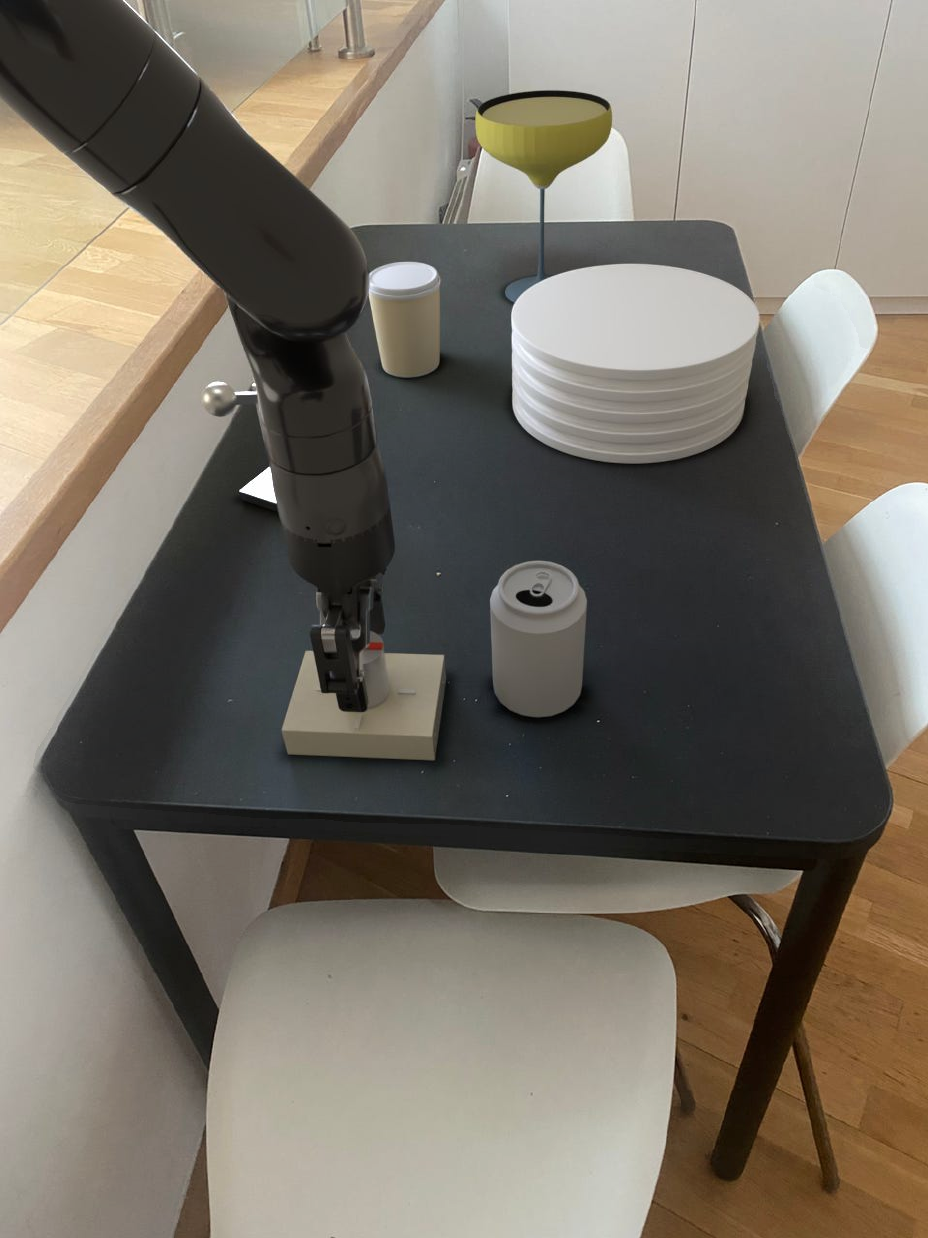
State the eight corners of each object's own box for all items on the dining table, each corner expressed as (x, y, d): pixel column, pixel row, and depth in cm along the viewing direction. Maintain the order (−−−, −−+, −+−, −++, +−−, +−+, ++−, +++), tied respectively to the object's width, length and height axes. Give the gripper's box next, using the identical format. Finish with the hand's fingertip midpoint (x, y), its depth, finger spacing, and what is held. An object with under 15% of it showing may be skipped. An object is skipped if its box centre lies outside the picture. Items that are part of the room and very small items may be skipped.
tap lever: (219, 420, 86) (221, 386, 84) (193, 413, 87) (195, 378, 86) (305, 414, 97) (308, 383, 95) (281, 407, 98) (284, 377, 97)
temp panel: (287, 754, 74) (280, 729, 72) (311, 674, 81) (305, 648, 79) (434, 760, 73) (432, 735, 71) (446, 679, 80) (444, 653, 78)
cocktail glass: (457, 290, 140) (447, 107, 123) (548, 258, 147) (551, 82, 130) (533, 330, 129) (534, 135, 112) (627, 293, 136) (642, 106, 119)
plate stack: (656, 493, 99) (668, 397, 91) (465, 410, 113) (461, 321, 105) (786, 391, 113) (805, 301, 105) (602, 329, 128) (607, 246, 120)
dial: (336, 708, 74) (327, 661, 70) (346, 672, 77) (337, 625, 73) (386, 710, 73) (378, 663, 70) (393, 673, 76) (386, 627, 73)
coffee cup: (449, 347, 126) (444, 260, 118) (441, 381, 119) (435, 290, 111) (382, 347, 127) (372, 260, 119) (370, 380, 120) (359, 290, 112)
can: (480, 710, 77) (474, 603, 69) (510, 651, 82) (509, 545, 74) (566, 734, 75) (571, 626, 66) (592, 671, 80) (599, 564, 71)
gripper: (302, 445, 68) (334, 608, 79) (253, 568, 58) (298, 736, 69) (402, 445, 67) (421, 609, 78) (371, 570, 57) (397, 739, 68)
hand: (363, 668), depth 73 cm, fingers open, 8 cm apart
